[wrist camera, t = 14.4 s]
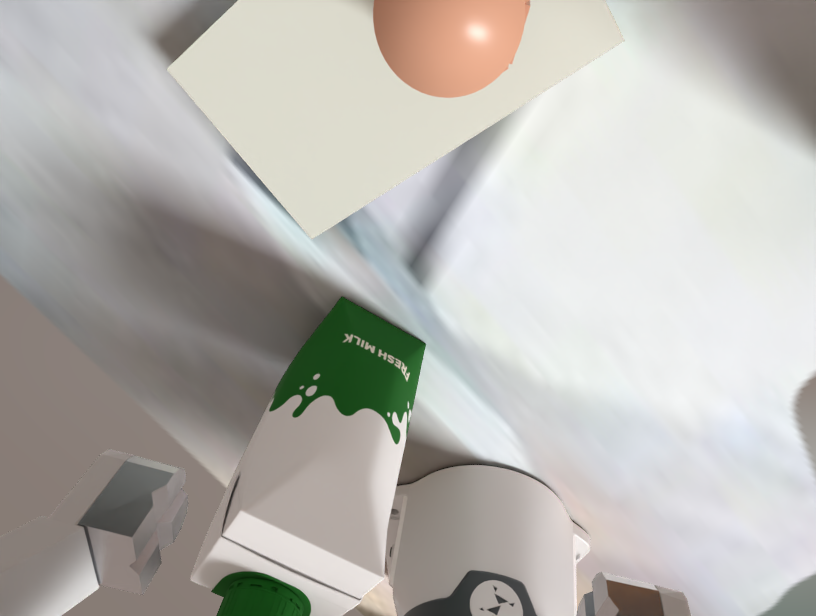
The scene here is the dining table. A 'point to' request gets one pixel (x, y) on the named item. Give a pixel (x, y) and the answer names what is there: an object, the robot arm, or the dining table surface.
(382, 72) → the post board
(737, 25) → the dining table surface
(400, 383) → the milk carton
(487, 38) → the cap
